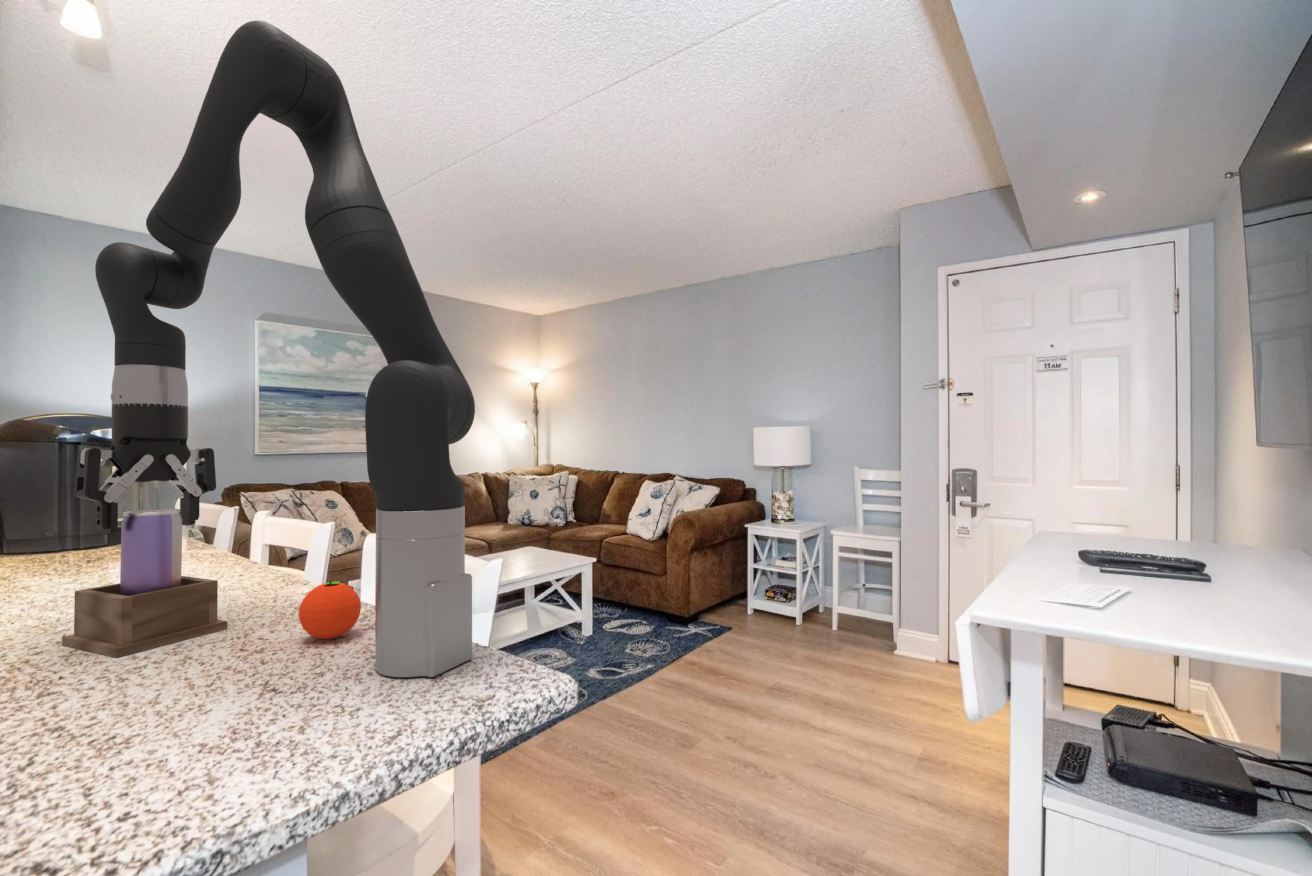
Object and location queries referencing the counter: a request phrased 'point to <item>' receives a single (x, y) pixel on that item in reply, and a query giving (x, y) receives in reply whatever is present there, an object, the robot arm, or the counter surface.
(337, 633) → the clementine
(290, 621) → the counter surface
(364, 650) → the counter surface
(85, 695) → the counter surface
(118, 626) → the open wooden box
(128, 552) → the beverage can
